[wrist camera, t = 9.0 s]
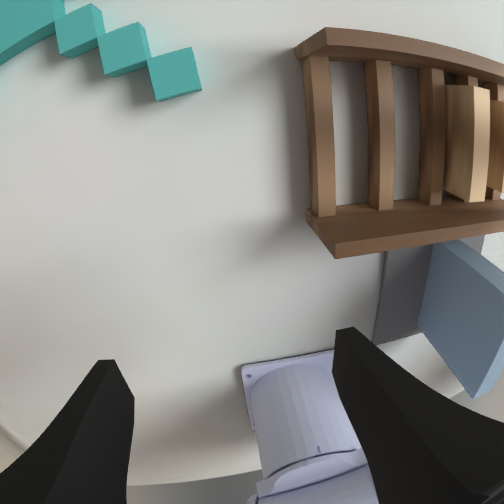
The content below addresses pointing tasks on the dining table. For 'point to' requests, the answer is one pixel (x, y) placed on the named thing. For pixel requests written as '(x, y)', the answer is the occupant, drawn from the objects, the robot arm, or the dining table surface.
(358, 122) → the dining table surface
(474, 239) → the grey mat
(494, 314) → the blue block
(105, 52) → the alien figure
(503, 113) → the offcut
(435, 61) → the rack
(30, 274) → the dining table surface
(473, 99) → the offcut
